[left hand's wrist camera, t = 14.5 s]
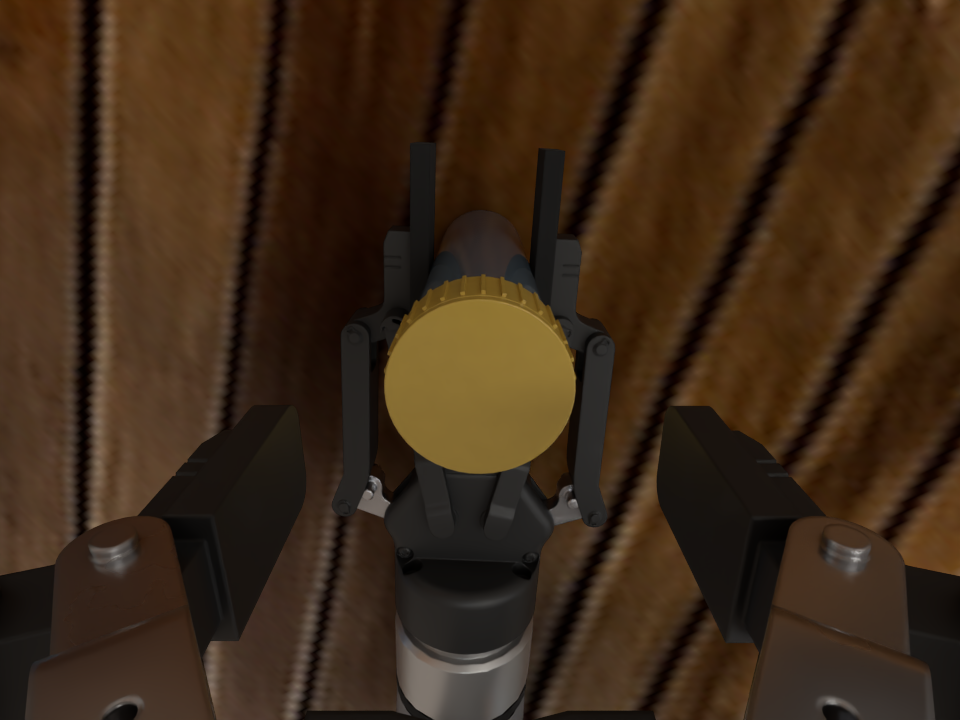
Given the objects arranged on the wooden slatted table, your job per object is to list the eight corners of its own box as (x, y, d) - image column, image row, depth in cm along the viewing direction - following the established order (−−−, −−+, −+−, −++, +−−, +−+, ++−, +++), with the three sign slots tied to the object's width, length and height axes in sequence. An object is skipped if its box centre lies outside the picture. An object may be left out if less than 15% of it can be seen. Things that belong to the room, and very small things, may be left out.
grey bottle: (530, 278, 31) (582, 436, 15) (454, 299, 32) (425, 475, 15) (510, 199, 30) (542, 280, 14) (430, 223, 30) (369, 328, 14)
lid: (582, 410, 17) (597, 451, 15) (424, 450, 17) (416, 495, 15) (543, 251, 15) (553, 271, 13) (369, 300, 16) (351, 327, 13)
